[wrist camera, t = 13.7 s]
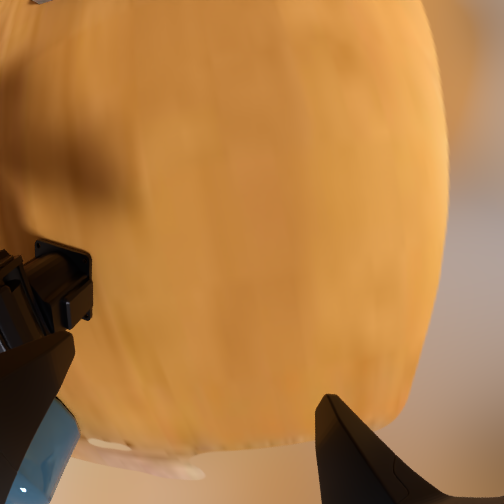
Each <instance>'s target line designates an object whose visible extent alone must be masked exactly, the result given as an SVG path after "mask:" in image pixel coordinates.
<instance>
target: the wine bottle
mask: <svg viewBox="0 0 504 504" xmlns="http://www.w3.org/2000/svg"><path fill="white" fill-rule="evenodd" d="M79 438H80V429H79V426H78V424H77V422H76V419H75V418H74V417H73V415H72V414H71V413H70V412H69V411H68V410H67V409H66V407H65V406H64V405H63V404H62V403H61V402H60V401H59V400H57V399H56V398H54V400H53V402H52V404H51V406H50V407H49V409H48V411H47V413H46V415H45V417H44V418H43V420H42V422H41V424H40V426H39V428H38V430H37V432H36V434H35V436H34V438H33V440H32V442H31V444H30V446H29V448H28V450H27V452H26V454H25V457H24V459H23V461H22V463H21V465H20V468H19V470H18V471H17V475H16V477H15V480H14V482H13V484H12V487H11V489H10V492H9V494H8V497H7V500H6V502H5V504H49V503H50V501H51V499H52V497H53V494H54V492H55V490H56V487H57V485H58V483H59V481H60V478H61V476H62V474H63V472H64V469H65V467H66V465H67V463H68V461H69V459H70V456H71V454H72V452H73V450H74V448H75V446H76V444H77V442H78V440H79Z"/></svg>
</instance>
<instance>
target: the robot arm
mask: <svg viewBox="0 0 504 504" xmlns="http://www.w3.org/2000/svg"><path fill="white" fill-rule="evenodd" d="M39 244H40V245H39ZM85 258H86V259H87V261H85ZM22 262H23V260H22V257H21V255H18V256H13V255H12V256H11V255H9V254H8V252H7V251H6V250H5V249H3V250H0V504H5V502H6V500H7V497H8V494H9V492H10V489H11V487H12V484H13V482H14V480H15V477H16V475H17V471H18V470H19V468H20V465H21V463H22V461H23V459H24V457H25V454H26V452H27V450H28V448H29V446H30V444H31V442H32V440H33V438H34V436H35V434H36V432H37V430H38V428H39V426H40V424H41V422H42V420H43V418H44V417H45V415H46V413H47V411H48V409H49V407H50V406H51V404H52V402H53V400H54V398H55V397H56V395H57V393H58V391H59V389H60V387H61V385H62V383H63V381H64V378H65V376H66V374H67V372H68V369H69V367H70V365H71V363H72V361H73V358H74V356H75V346H74V339H73V335H72V334H71V333H69V332H67V331H65V330H66V329H69V330H71V329H72V328H73V327H74V326H75V325H76V324H77V323H78V322H79V321H80V319H84V320H87V321H89V320H90V319H91V318H92V307H93V281H92V258H91V256H90V255H89V254H88V253H84V252H81V251H78V250H74V249H71V248H68V247H65V246H61V245H58V244H55V243H52V242H49V241H45V240H42V239H39V240H37V241H36V242H35V258H33V259H32V260H30V261H28V262H27V263H25V264H22ZM86 314H87V315H88V316H87V315H86ZM315 447H316V457H317V466H318V473H319V482H320V491H321V500H322V504H504V496H501V497H493V498H492V497H491V498H473V497H469V498H468V497H453V496H449V495H446V494H444V493H442V492H441V491H439V490H438V489H437V488H435V487H434V486H432V485H431V484H429V483H428V482H427V481H426V480H424V479H423V478H422V477H421V476H419V475H418V474H417V473H416V472H414V471H413V470H412V469H411V468H410V467H409V466H407V465H406V464H405V463H404V462H403V461H402V460H401V459H400V458H399V457H398V456H397V455H395V453H394V452H393V451H392V450H391V449H390V448H389V447H387V445H386V444H385V443H384V442H383V441H381V440H380V439H379V438H378V436H376V434H375V433H374V432H373V431H372V430H371V429H370V428H369V427H368V426H367V425H366V424H365V423H364V422H363V421H362V420H361V419H360V418H359V417H358V416H357V415H356V414H355V413H354V412H353V411H352V410H351V409H350V408H349V407H348V406H347V405H346V404H345V403H344V402H343V401H342V400H341V399H340V398H339V396H337V395H335V394H325V395H324V396H323V398H322V400H321V401H320V403H319V405H318V406H317V408H316V411H315Z"/></svg>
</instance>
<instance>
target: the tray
mask: <svg viewBox="0 0 504 504" xmlns="http://www.w3.org/2000/svg"><path fill="white" fill-rule="evenodd" d="M32 1H34V2H36V3H38V4H42V3H45V2H48V1H52V0H32Z"/></svg>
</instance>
